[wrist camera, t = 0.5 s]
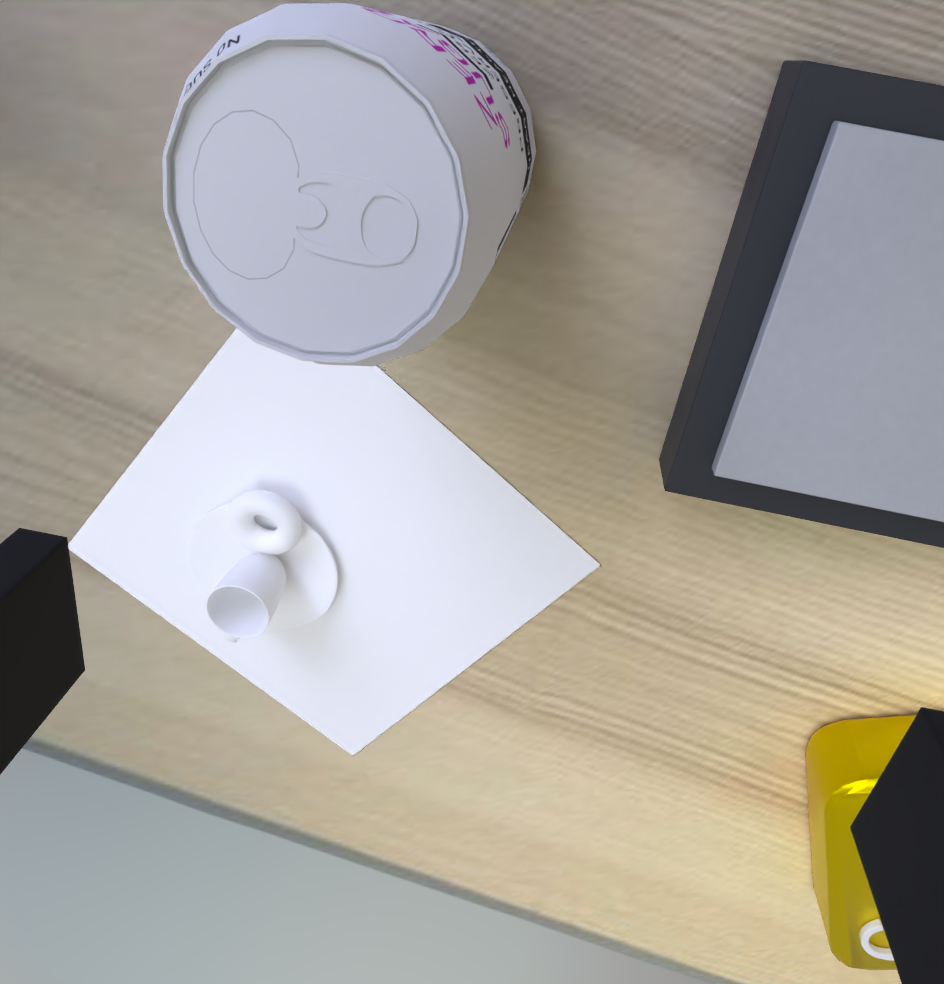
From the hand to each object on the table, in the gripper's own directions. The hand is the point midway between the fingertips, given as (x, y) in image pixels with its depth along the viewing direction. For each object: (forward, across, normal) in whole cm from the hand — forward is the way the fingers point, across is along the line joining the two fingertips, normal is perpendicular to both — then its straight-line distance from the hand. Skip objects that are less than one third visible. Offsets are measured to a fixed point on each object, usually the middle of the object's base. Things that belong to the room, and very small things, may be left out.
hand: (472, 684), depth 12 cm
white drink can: (+24, -5, +5) cm, 25 cm away
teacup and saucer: (+23, -9, -15) cm, 29 cm away
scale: (+23, +15, +1) cm, 28 cm away
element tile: (+23, +27, -24) cm, 43 cm away
